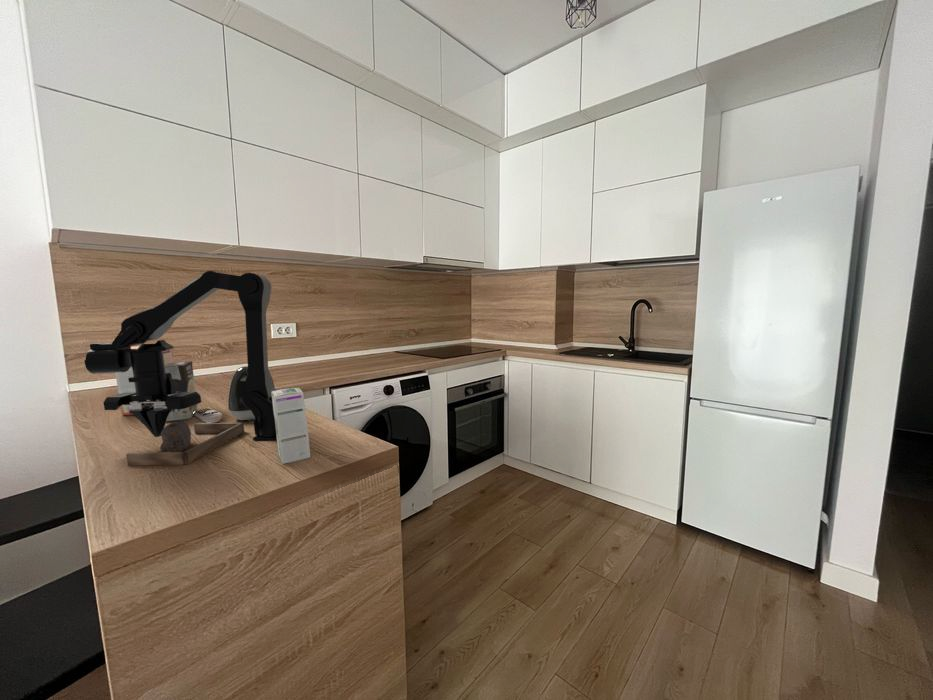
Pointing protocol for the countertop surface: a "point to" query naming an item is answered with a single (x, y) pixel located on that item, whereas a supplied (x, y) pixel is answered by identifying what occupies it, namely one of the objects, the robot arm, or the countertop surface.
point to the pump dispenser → (233, 398)
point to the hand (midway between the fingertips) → (158, 436)
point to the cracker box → (128, 386)
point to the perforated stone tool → (176, 437)
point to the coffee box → (186, 373)
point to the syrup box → (290, 425)
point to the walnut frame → (188, 456)
